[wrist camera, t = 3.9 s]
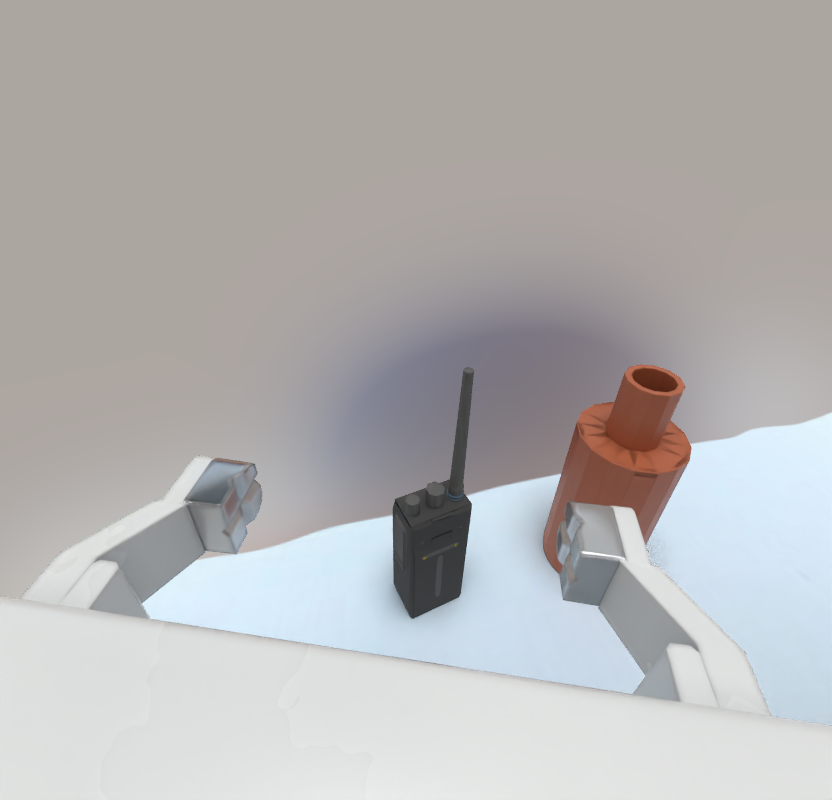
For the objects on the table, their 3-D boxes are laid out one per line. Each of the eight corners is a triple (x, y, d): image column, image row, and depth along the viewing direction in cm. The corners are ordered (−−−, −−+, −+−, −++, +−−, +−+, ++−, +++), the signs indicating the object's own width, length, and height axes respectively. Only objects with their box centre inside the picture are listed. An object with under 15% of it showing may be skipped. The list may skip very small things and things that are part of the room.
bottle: (620, 522, 42) (695, 354, 31) (640, 596, 36) (740, 421, 26) (539, 512, 43) (586, 345, 32) (546, 583, 37) (606, 408, 26)
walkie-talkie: (442, 560, 38) (462, 349, 26) (463, 594, 36) (496, 379, 24) (388, 583, 36) (384, 368, 25) (407, 621, 34) (413, 402, 22)
